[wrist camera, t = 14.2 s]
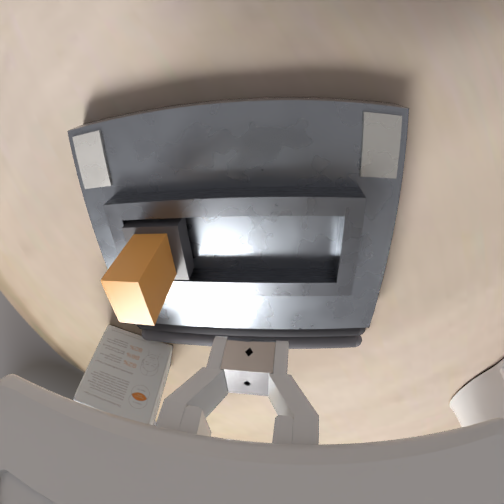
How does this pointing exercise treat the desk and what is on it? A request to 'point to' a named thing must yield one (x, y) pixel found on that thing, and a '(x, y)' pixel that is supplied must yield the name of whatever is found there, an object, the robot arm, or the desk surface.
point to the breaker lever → (148, 268)
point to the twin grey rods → (254, 335)
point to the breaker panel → (256, 203)
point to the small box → (126, 376)
